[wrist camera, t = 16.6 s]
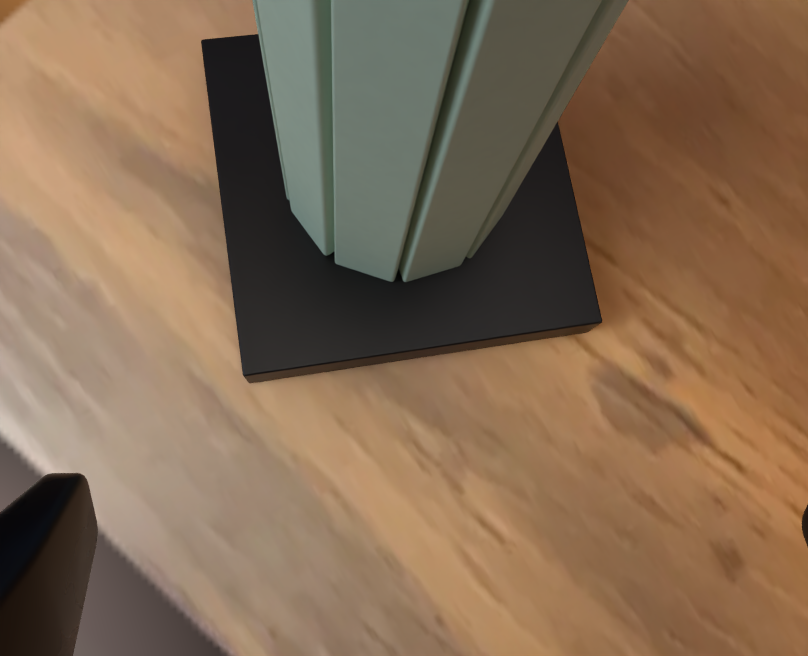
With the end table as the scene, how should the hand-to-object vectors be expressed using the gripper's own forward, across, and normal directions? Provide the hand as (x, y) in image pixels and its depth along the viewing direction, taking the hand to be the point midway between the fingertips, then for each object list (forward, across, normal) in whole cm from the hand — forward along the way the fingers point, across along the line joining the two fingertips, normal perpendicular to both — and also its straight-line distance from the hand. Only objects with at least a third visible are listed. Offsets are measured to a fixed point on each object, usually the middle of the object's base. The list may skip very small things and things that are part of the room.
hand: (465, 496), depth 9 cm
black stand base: (+13, 0, +1) cm, 13 cm away
